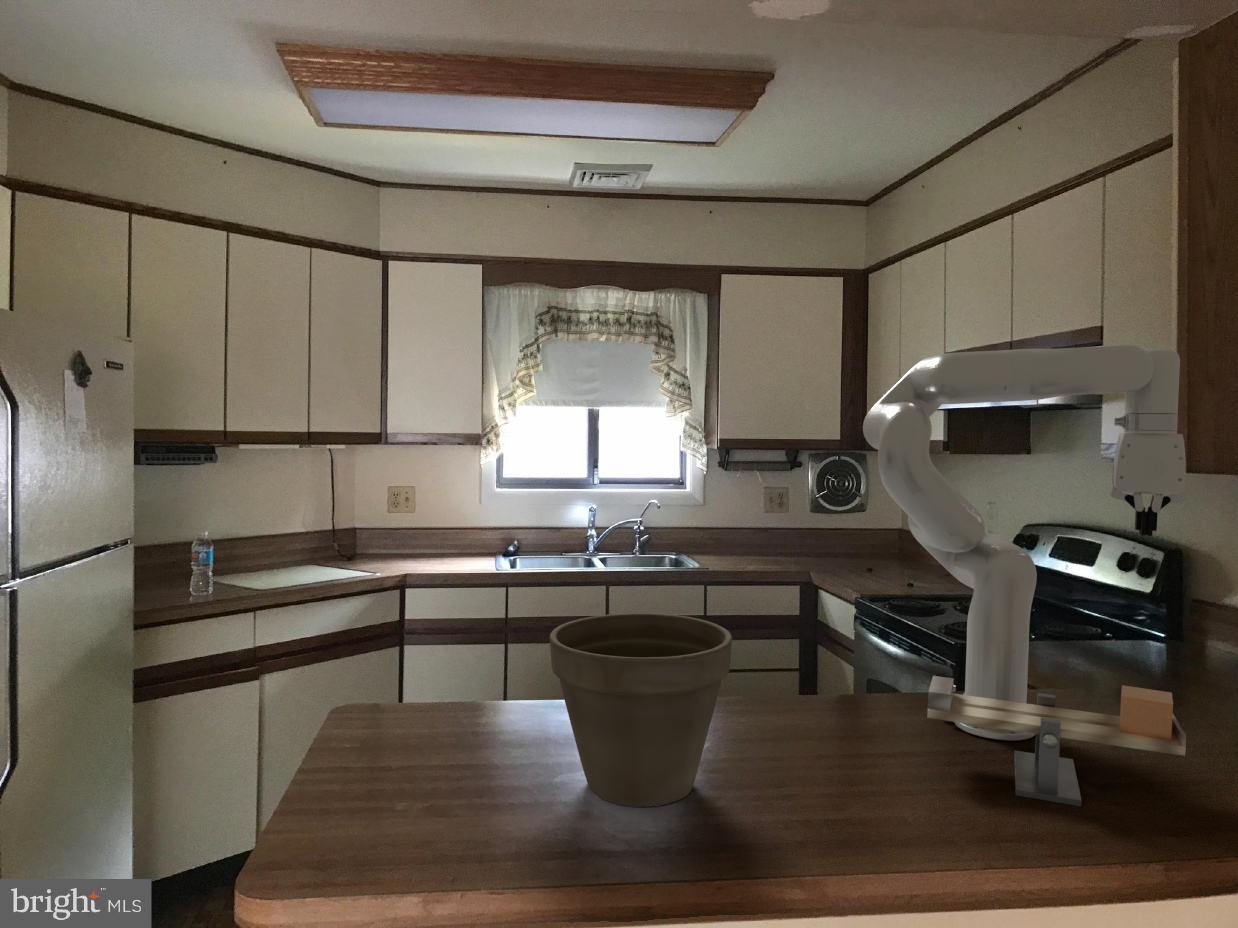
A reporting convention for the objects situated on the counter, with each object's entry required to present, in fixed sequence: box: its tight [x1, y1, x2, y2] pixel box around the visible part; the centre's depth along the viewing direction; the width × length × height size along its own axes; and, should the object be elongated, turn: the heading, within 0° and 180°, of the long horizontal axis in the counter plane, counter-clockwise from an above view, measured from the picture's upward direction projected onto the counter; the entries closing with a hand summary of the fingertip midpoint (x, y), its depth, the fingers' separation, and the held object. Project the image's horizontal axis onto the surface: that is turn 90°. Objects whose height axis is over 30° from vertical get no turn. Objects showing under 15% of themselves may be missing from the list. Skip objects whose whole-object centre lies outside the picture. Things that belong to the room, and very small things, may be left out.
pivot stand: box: [1014, 692, 1083, 807], centre depth 125 cm, size 8×16×10 cm, turn 156°
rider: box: [1119, 684, 1174, 741], centre depth 120 cm, size 6×6×6 cm
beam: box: [926, 675, 1187, 757], centre depth 125 cm, size 32×10×4 cm, turn 66°
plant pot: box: [549, 612, 733, 808], centre depth 121 cm, size 25×25×22 cm
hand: (1145, 534), depth 146 cm, fingers closed
